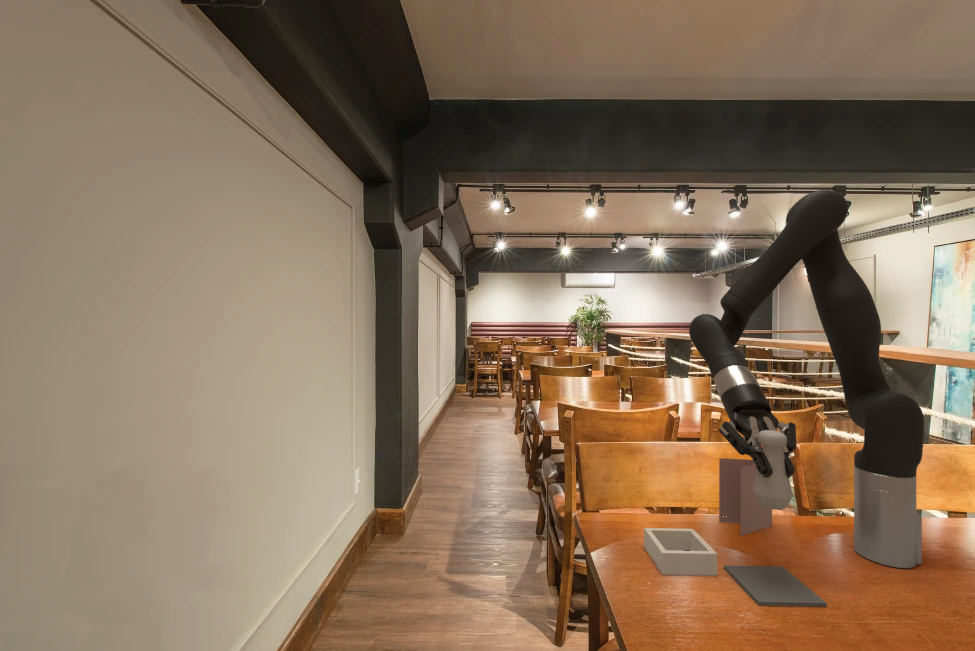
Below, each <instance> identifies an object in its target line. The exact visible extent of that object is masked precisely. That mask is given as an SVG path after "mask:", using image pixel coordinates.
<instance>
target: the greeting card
mask: <svg viewBox="0 0 975 651" xmlns="http://www.w3.org/2000/svg"><path fill="white" fill-rule="evenodd" d="M718 462H719V466H718V467H719V468H718V470H719V471H718V472H719V473H718V474H719V475H718V476H719V477H718V478H719V480H718V481H719V483H718V484H719V485H718V486H719V487H718V489H719V490H718V491H719V492H718V494H719V495H718V499H719V500H718V503H719V504H718V506H719V507H718V513H719V514H718V516H719V517H718V519H719V520H718V522H719V523H722V522H723V523H727V524H740V528H739V529H740V530H739V532H740V537H742V536H746V535H749V534H751V533H755V532H758V531H760V530H763V529H766V528H769V527H772V526H773V509H769V508H766V507H764V506H762V505H759V502H758V500H757V497H756V495H755V494H754V492H753V485H754V480H755V476H756V472H757V468H756V465H755V463H754V461H753V459H745V458H744V459H740V458H725V457H724V458H719V461H718ZM723 516H724V517H723ZM726 516H727V517H726ZM723 523H722V524H723ZM745 534H746V535H745Z"/></svg>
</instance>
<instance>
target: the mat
mask: <svg viewBox="0 0 975 651" xmlns="http://www.w3.org/2000/svg"><path fill="white" fill-rule="evenodd" d="M723 569H724V571H726V572H727V573H728V575H729V576H730V577H732V579H733V580H734V581H735V582H736V583H737V584H738V585H739V586H740V588H742V589H743V590H744V592H746V594H747V595H748V596H749V597H750V598H751V599H752V600H753V601H754V602H755V604H757V605H758V606H760V607H761V606H765V607H766V606H769V607H771V606H772V607H812V608H815V607H816V608H821V607H823V608H827V607H828V603H827V602H826V601H825V600H824V599H822V598H821V597H820V596H819V595H818V594H816V593H815V592H814V591H813V590H812V589H811V588H810V587H808V586H807V585H806V584H804V583H803V582H802V580H800V579H799V578H797V577H796V576H795V575H794V574H793V573H791V571H789V570H788V569H787V568H786V567H785V566H781V565H779V566H778V565H773V566H772V565H770V566H769V565H723Z"/></svg>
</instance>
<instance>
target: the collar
mask: <svg viewBox="0 0 975 651" xmlns="http://www.w3.org/2000/svg"><path fill="white" fill-rule="evenodd" d="M643 548H644V550H645V549H646V550H645V551H646V553H647V552H648V553H647V554H648V556H649V555H650V556H651V557H650V556H649V557H650V558H652V559H653V560H652V559H651V560H652V562H653V561H654V562H655V563H654V562H653V563H654V565H655V564H656V565H655V566H656V567H658V568H657V569H658V570H660V571H659V572H660V574H661V573H662V574H661V575H662V576H664V574H665V576H710V577H711V576H712V577H713V576H714V577H715V576H716V577H717V576H718V553H717V552H716V551H715V550H714V549H713V548H712V547H711V546H710V544H708V542H706V541H705V540H704V539H703V537H701V536H700V534H699V533H698V532H696V530H695V529H693V528H668V527H667V528H665V527H662V528H661V527H659V528H658V527H644V528H643ZM684 550H690V551H684Z"/></svg>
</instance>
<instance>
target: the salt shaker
mask: <svg viewBox="0 0 975 651" xmlns="http://www.w3.org/2000/svg"><path fill="white" fill-rule="evenodd" d="M758 442H759V443H760V444H761V447H762V451H761V452H762V453H764V454H765V456H766V457H767V459H768V462H769V464H770V466H771V468H772V470H773V474H772V475H771V476H770V477H763V475H762V474H760V473H759V472H758V470H757V472H756V476H755V480H754V485H753V492H754V494H755V495H756V497H757V500H758V502H759V505H762V506H764V507H766V508H769V509H772V510H778V511H782V510H784V509H786V508H787V507H788V505H789V504H790V501H791V500H792V498H793V491H792V485H791V482H790V478H788V477H787V475H786V468H785V461H784V459H785V456H784V451H783V447H785V446H786V445H787V436H786V435H785V434H783V433H781V432H780V431H778V430H777V431H772V430H763V431H761V432H759V434H758Z"/></svg>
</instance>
